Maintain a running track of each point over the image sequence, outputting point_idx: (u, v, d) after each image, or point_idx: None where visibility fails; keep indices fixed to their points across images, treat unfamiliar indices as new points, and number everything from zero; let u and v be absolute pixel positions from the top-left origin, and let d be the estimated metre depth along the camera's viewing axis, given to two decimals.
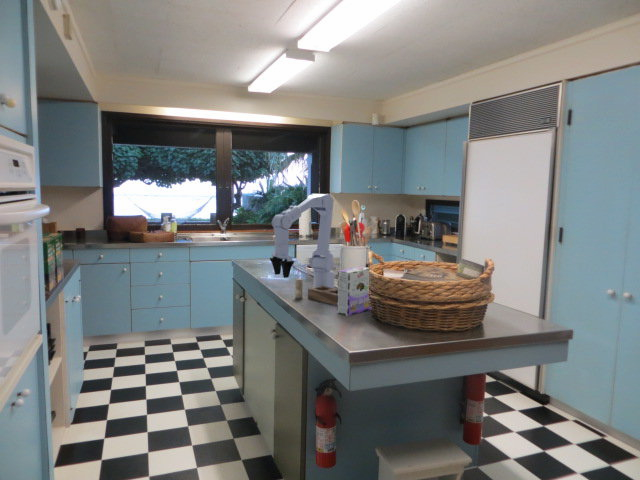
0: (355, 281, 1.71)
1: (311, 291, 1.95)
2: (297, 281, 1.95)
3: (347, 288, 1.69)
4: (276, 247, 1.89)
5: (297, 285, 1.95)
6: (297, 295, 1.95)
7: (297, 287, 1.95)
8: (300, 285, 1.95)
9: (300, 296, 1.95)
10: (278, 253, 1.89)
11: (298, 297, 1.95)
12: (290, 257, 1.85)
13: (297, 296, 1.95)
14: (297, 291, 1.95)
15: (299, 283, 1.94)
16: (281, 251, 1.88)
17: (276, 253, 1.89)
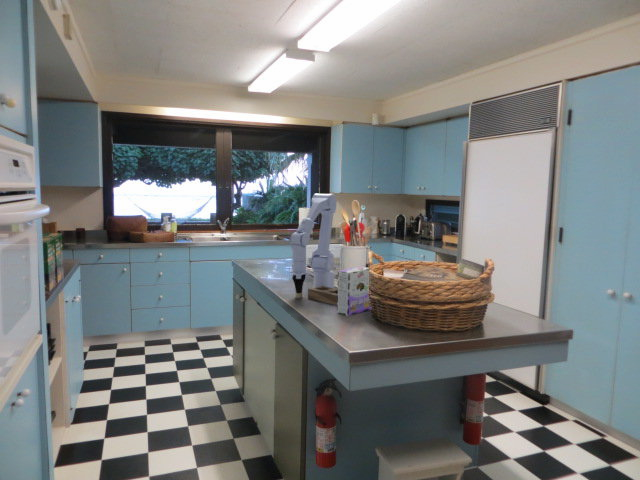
0: (355, 281, 1.71)
1: (311, 291, 1.95)
2: None
3: (347, 288, 1.69)
4: (292, 264, 1.94)
5: None
6: (297, 295, 1.95)
7: None
8: None
9: (300, 296, 1.95)
10: (293, 270, 1.94)
11: (298, 297, 1.95)
12: (298, 275, 1.88)
13: (297, 296, 1.95)
14: None
15: None
16: (296, 268, 1.93)
17: (292, 269, 1.95)
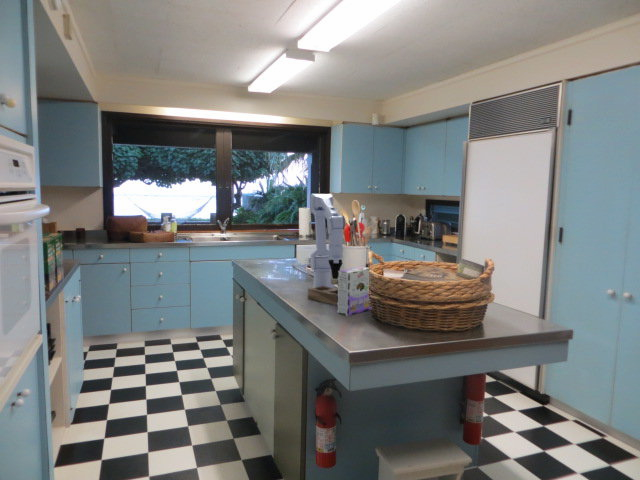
0: (355, 281, 1.71)
1: (311, 291, 1.95)
2: None
3: (347, 288, 1.69)
4: (329, 248, 1.88)
5: None
6: (333, 281, 1.89)
7: None
8: None
9: (336, 282, 1.89)
10: (329, 254, 1.88)
11: (334, 283, 1.89)
12: (336, 259, 1.82)
13: (333, 282, 1.89)
14: None
15: None
16: (332, 253, 1.87)
17: (328, 254, 1.89)
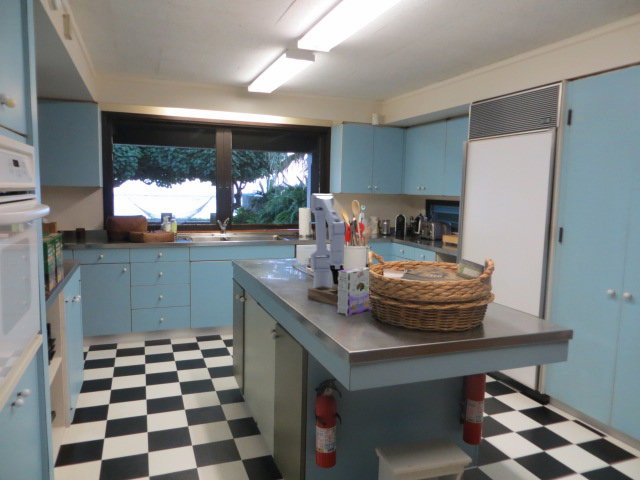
0: (355, 281, 1.71)
1: (311, 291, 1.95)
2: None
3: (347, 288, 1.69)
4: (330, 254, 1.88)
5: None
6: (334, 286, 1.89)
7: None
8: None
9: (337, 287, 1.89)
10: (331, 260, 1.88)
11: (335, 288, 1.89)
12: (337, 265, 1.82)
13: (334, 287, 1.89)
14: None
15: None
16: (333, 259, 1.87)
17: (330, 260, 1.89)
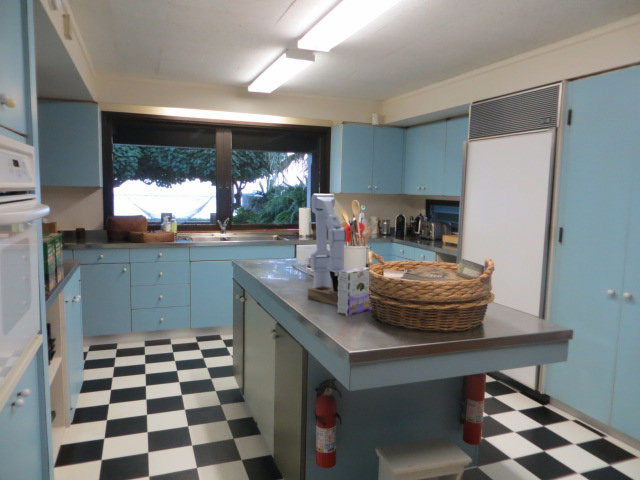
0: (355, 281, 1.71)
1: (311, 291, 1.95)
2: None
3: (347, 288, 1.69)
4: (330, 260, 1.89)
5: None
6: None
7: None
8: None
9: None
10: (331, 267, 1.88)
11: None
12: (337, 272, 1.83)
13: None
14: (333, 292, 1.89)
15: None
16: (333, 265, 1.87)
17: (330, 266, 1.89)
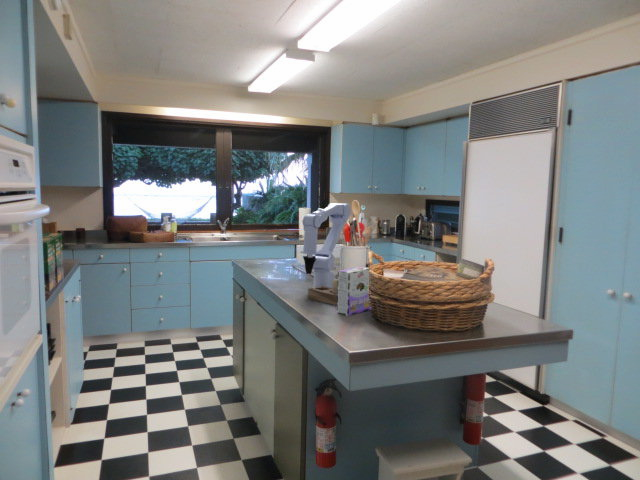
0: (355, 281, 1.71)
1: (311, 291, 1.95)
2: (334, 282, 1.89)
3: (347, 288, 1.69)
4: (304, 244, 2.00)
5: (334, 286, 1.89)
6: None
7: (334, 288, 1.89)
8: (337, 286, 1.89)
9: None
10: (304, 250, 1.99)
11: None
12: (310, 254, 1.94)
13: None
14: (334, 292, 1.90)
15: (336, 284, 1.89)
16: (307, 249, 1.98)
17: (303, 250, 2.00)
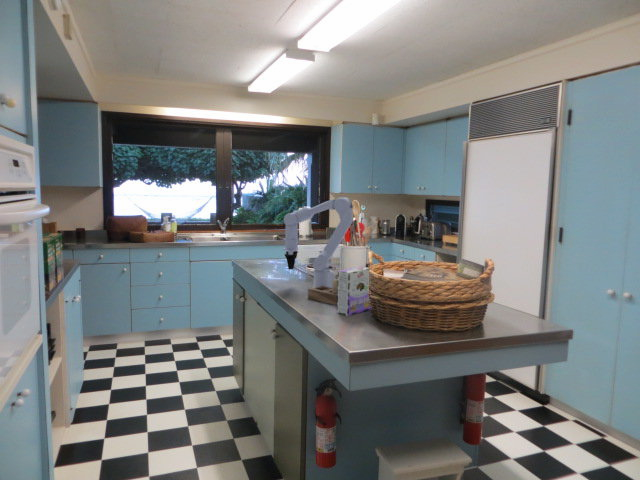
0: (355, 281, 1.71)
1: (311, 291, 1.95)
2: (334, 282, 1.89)
3: (347, 288, 1.69)
4: (285, 241, 2.13)
5: (334, 286, 1.89)
6: None
7: (334, 288, 1.89)
8: (337, 286, 1.89)
9: None
10: (286, 247, 2.12)
11: None
12: (291, 251, 2.07)
13: None
14: (334, 292, 1.90)
15: (336, 284, 1.89)
16: (288, 246, 2.11)
17: (285, 247, 2.13)
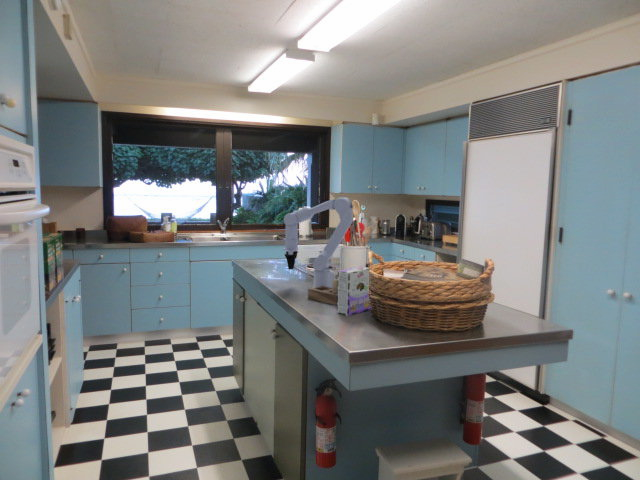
0: (355, 281, 1.71)
1: (311, 291, 1.95)
2: (334, 282, 1.89)
3: (347, 288, 1.69)
4: (285, 241, 2.13)
5: (334, 286, 1.89)
6: None
7: (334, 288, 1.89)
8: (337, 286, 1.89)
9: None
10: (286, 247, 2.12)
11: None
12: (291, 251, 2.07)
13: None
14: (334, 292, 1.90)
15: (336, 284, 1.89)
16: (288, 246, 2.11)
17: (285, 247, 2.13)
